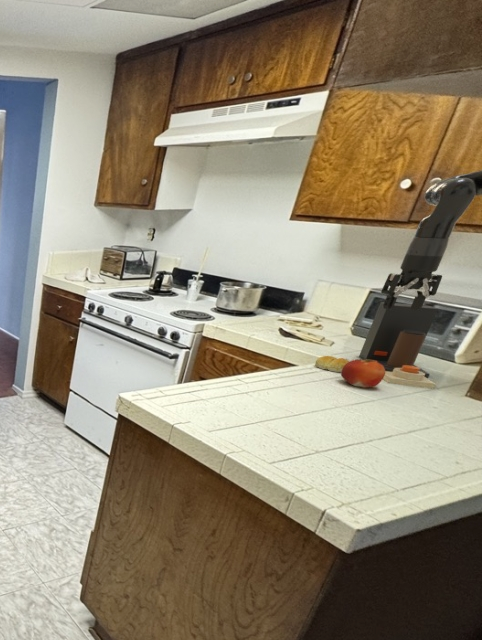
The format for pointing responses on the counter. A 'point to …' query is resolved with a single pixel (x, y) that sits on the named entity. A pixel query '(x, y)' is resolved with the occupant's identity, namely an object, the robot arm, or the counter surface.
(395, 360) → the brown wooden block
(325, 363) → the bread roll
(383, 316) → the dark grey orange-tab panel
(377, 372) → the tomato
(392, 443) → the counter surface
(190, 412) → the counter surface
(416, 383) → the switch block
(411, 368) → the power button
